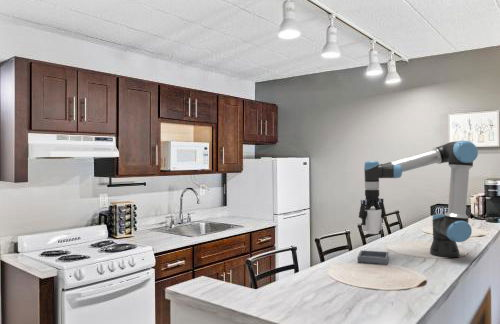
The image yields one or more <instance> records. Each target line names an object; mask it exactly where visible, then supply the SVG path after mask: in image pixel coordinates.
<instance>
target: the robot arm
mask: <svg viewBox="0 0 500 324" xmlns="http://www.w3.org/2000/svg"><path fill="white" fill-rule="evenodd" d="M478 155H479V151H478V147H477V146H476V144H475V143H473V142H471V141H469V140H456V141H450V142H447V143H445V144H442V145H439V146H436V147H433V148H432V149H431V150H428V151H425V152H421V153H418V154H415V155H410V156H407V157H404V158H403V157H402V158H400V159H397V160H392V161H390V162H389V161H388V162H386V163H379V161H378V160H374V161H373V160H372V161H371V160H369V161H368V160H367V161H365V162H364V189H365V190H364V196H365V199H360V206H359V208H360V209H359V212H358V213H359V214H358V218H359V219H361V225H362V230H363V231H364V232H367V231H368V229H367V219H366V217H367V215H368V214H367V211H365V210H370V208H375V209H376V210H380V209H381V210H382V214H381V220H380V229H379V231H382V230H383V223H384V218H385V217H386V216H387V211H386V208H385V205H384V198H379V197H380V179H400V178H401V177H402V175H403V173H404V172H408V171H412V170H415V169H419V168H422V167H426V166H429V165H434V164H438V165H441V164H445V163H448V166H449V167H450V179H449V180H450V181H449V190H448V192H449V194H448V204H447V205H448V207H447V212H446V213H444V214H443V213H441V214H440V213H439V214H436V213H435V214H434V215H432V220H431V221H432V243H431V245H430V249H429V253H430V255H433V256H436V257H441V258H442V257H443V258H456V257H459V256H460V249H459V246H458V243H463V242H466V241H467V240H468V239H470V237H471V235H472V232H473V231H472V227H471V225H470V224H469V220H470V219H469V216H468V215H467V214H466V212H467V204H468V203H467V199H468V191H469V190H468V189H469V175H470V170H471V168H473V166H474V161H475V160H476V159H477V158H478Z"/></svg>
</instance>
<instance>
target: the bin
mask: <svg viewBox="0 0 500 324" xmlns="http://www.w3.org/2000/svg"><path fill="white" fill-rule="evenodd" d="M389 254H390V252H388V251H377V250H376V251H374V250H360V252H359V253H358V256H357V264H363V265H365V264H366V265H378V266H380V265H381V266H388V263H389V258H390V257H389V256H390V255H389Z"/></svg>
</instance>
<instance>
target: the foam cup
mask: <svg viewBox="0 0 500 324" xmlns="http://www.w3.org/2000/svg"><path fill="white" fill-rule="evenodd" d="M365 211H367V214H368V215H367V217H366V219H367V229H368V231H366V234H369V235H378V234H379V233H380V220H381V214H382V210H381V209H380V210H376V209H375V207H371V208H370V210H365Z"/></svg>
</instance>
